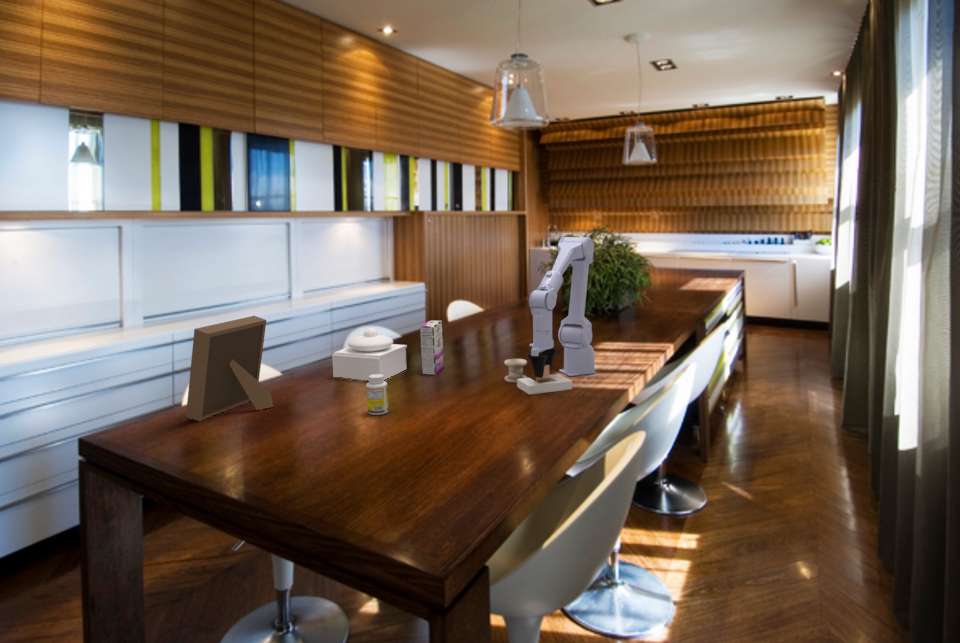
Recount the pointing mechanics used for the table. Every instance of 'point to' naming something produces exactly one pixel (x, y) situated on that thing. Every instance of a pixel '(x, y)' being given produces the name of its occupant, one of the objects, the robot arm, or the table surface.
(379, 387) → the supplement bottle
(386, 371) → the butter dish
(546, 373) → the copper peg
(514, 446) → the table surface
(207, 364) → the photo frame
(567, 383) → the notched board
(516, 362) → the bobbin
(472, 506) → the table surface
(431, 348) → the candy bar box
